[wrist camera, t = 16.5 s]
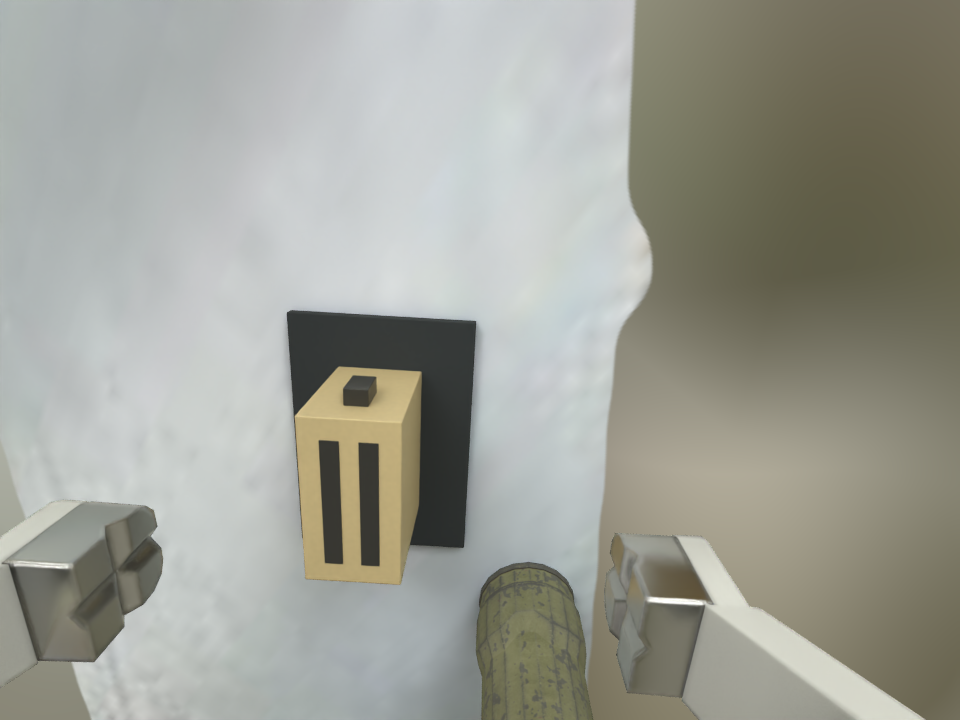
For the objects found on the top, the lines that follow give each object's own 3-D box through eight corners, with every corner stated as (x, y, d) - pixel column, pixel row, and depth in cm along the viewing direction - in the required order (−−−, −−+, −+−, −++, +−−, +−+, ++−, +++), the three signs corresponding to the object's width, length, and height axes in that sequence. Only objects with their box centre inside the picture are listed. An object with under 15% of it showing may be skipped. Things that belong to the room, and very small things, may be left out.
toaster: (419, 505, 42) (400, 586, 33) (342, 500, 42) (304, 580, 33) (422, 356, 38) (402, 404, 29) (337, 351, 38) (292, 397, 29)
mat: (290, 310, 37) (286, 312, 37) (476, 321, 37) (475, 323, 37) (305, 532, 44) (302, 538, 43) (463, 541, 44) (463, 548, 43)
